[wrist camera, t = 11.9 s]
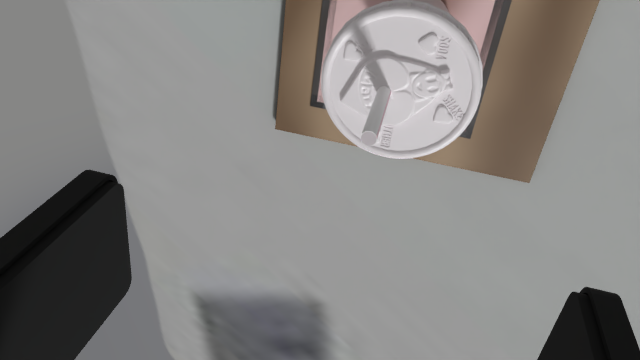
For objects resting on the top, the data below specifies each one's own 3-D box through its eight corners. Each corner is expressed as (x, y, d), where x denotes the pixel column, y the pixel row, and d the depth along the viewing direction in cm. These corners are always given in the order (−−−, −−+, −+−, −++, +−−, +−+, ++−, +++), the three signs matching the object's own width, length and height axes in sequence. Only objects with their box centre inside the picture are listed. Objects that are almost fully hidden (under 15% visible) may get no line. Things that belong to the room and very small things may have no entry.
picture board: (641, -119, 24) (645, -119, 24) (528, 178, 33) (529, 183, 32) (302, -166, 26) (299, -166, 26) (278, 125, 35) (274, 129, 34)
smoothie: (345, -19, 29) (264, 61, 17) (467, -52, 27) (472, 14, 15) (372, 92, 32) (320, 227, 20) (485, 70, 29) (502, 207, 18)
